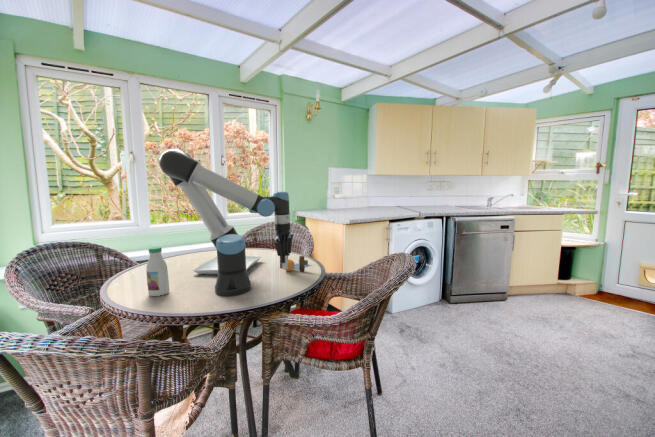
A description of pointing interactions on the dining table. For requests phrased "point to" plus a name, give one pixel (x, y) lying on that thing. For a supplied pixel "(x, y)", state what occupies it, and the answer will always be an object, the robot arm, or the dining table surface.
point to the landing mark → (298, 266)
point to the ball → (290, 265)
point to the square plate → (212, 265)
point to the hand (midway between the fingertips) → (285, 268)
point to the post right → (301, 264)
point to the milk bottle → (157, 273)
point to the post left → (280, 262)
